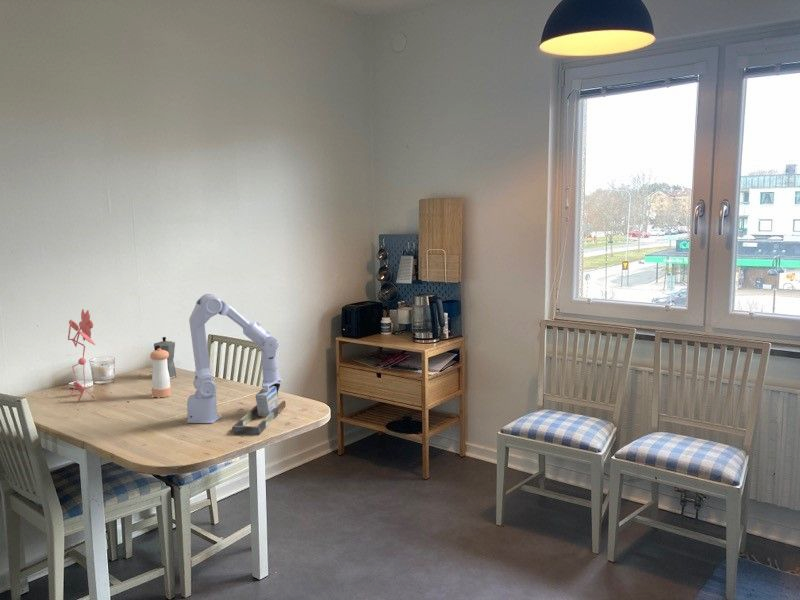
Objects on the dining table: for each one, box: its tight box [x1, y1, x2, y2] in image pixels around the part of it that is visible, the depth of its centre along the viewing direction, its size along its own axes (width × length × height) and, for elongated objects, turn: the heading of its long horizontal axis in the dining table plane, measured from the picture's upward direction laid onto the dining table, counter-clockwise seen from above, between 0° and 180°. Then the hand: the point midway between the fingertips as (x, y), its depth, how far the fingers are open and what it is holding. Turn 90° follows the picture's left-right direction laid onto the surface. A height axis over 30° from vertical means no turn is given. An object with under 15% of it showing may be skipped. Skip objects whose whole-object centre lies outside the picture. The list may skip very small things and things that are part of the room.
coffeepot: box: [153, 336, 177, 377], centre depth 284 cm, size 15×9×18 cm, turn 175°
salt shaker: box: [149, 348, 172, 398], centre depth 256 cm, size 7×7×19 cm
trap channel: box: [232, 400, 287, 436], centre depth 226 cm, size 9×30×2 cm, turn 173°
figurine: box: [67, 308, 96, 402], centre depth 254 cm, size 15×26×35 cm, turn 43°
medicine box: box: [255, 386, 280, 418], centre depth 232 cm, size 8×4×9 cm, turn 164°
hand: (273, 403), depth 237 cm, fingers closed, pressing on medicine box
